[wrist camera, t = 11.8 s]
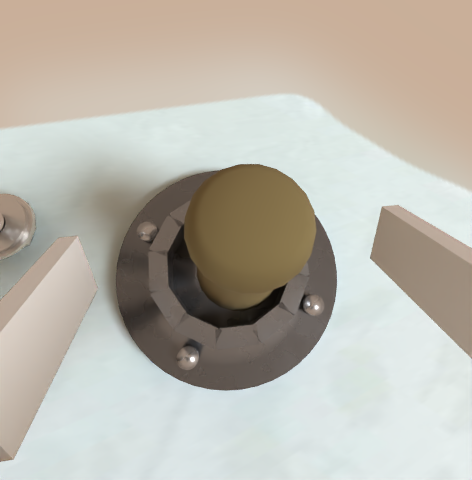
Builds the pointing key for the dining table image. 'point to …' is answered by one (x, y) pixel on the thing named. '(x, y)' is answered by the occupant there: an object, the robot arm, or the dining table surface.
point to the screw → (15, 225)
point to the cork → (248, 234)
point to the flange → (207, 312)
